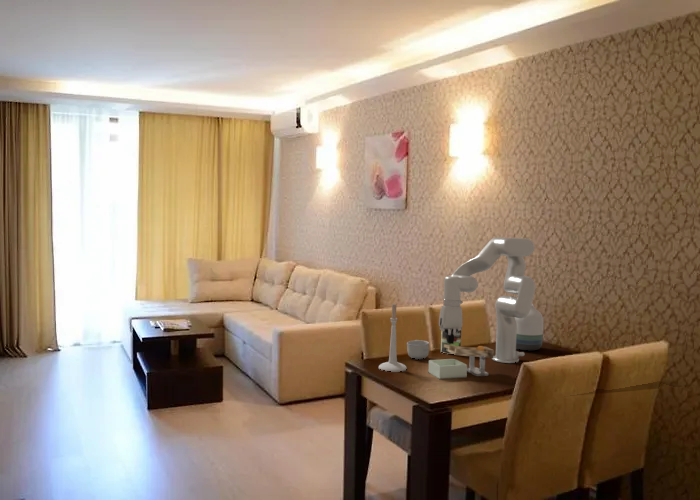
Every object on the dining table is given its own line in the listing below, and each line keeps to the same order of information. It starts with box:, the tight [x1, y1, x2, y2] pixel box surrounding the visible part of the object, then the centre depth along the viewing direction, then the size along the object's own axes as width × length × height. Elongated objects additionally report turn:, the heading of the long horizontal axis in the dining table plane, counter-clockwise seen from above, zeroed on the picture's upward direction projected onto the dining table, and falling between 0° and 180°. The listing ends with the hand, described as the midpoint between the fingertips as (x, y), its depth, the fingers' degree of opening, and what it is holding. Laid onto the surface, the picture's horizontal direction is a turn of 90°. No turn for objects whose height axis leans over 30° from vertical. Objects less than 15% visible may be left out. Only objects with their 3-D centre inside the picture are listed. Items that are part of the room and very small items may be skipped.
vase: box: [515, 303, 544, 352], centre depth 314 cm, size 17×17×24 cm
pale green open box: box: [428, 358, 468, 380], centre depth 259 cm, size 13×11×6 cm
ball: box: [476, 345, 485, 351], centre depth 263 cm, size 4×4×4 cm
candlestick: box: [378, 303, 408, 373], centre depth 267 cm, size 13×13×30 cm
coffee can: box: [440, 328, 462, 355], centre depth 302 cm, size 10×10×14 cm
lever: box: [444, 344, 495, 359], centre depth 265 cm, size 19×15×4 cm
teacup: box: [406, 339, 430, 360], centre depth 290 cm, size 14×11×8 cm
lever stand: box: [467, 355, 490, 377], centre depth 263 cm, size 6×11×9 cm, turn 17°
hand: (450, 343), depth 269 cm, fingers closed
